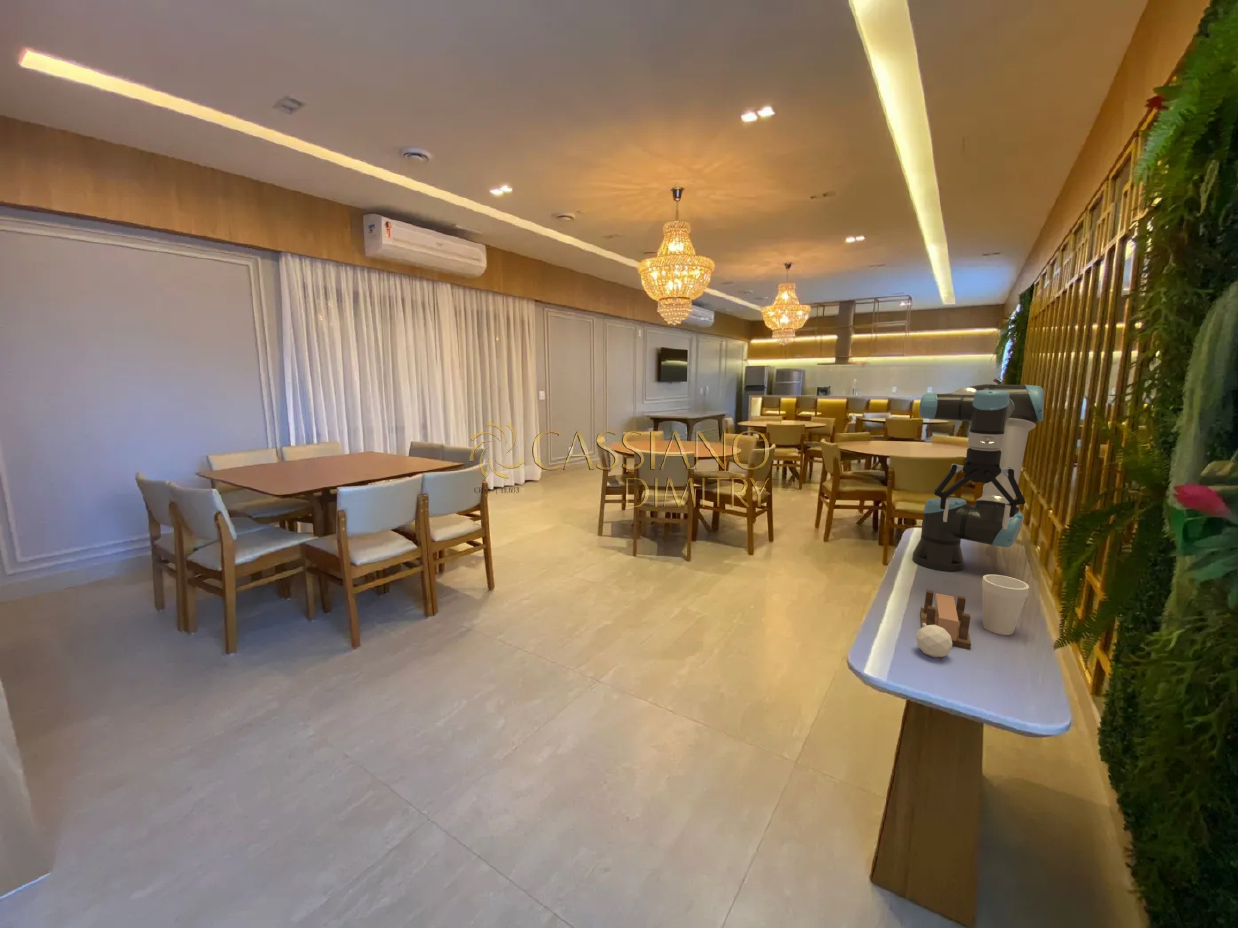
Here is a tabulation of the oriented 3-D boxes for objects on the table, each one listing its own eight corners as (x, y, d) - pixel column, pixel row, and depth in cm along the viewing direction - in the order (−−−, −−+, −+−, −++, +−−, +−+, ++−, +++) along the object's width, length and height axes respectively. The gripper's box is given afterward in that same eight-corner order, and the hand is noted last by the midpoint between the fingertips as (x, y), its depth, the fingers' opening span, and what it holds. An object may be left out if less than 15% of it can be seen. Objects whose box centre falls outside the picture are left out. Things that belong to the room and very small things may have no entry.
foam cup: (1008, 641, 123) (1016, 592, 121) (968, 624, 131) (975, 578, 129) (1028, 632, 127) (1036, 585, 125) (988, 617, 136) (995, 572, 133)
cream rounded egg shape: (932, 664, 113) (912, 630, 115) (924, 659, 120) (905, 627, 122) (963, 653, 111) (942, 618, 114) (953, 648, 118) (934, 615, 121)
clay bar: (956, 640, 120) (958, 621, 119) (936, 636, 122) (939, 617, 121) (951, 613, 134) (953, 596, 133) (933, 610, 136) (935, 593, 135)
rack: (920, 612, 138) (923, 586, 136) (963, 621, 133) (967, 595, 132) (921, 638, 124) (925, 610, 123) (970, 649, 119) (974, 620, 118)
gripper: (930, 447, 136) (921, 521, 141) (1047, 454, 124) (1034, 535, 129) (929, 443, 143) (921, 514, 147) (1040, 449, 131) (1028, 526, 135)
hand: (974, 524), depth 138 cm, fingers open, 13 cm apart
